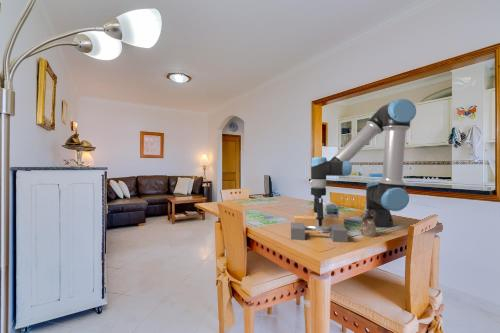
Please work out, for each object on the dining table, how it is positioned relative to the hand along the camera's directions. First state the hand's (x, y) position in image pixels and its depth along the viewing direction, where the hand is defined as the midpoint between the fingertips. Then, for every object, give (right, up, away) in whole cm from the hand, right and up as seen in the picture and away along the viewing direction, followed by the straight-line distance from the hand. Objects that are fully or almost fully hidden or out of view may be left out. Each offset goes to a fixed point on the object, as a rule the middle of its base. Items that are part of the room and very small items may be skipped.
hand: (318, 228), depth 123 cm
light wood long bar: (0, -1, 0) cm, 1 cm away
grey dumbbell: (-4, -1, -13) cm, 14 cm away
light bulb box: (+10, 0, +13) cm, 16 cm away
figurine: (+21, -1, -9) cm, 23 cm away
